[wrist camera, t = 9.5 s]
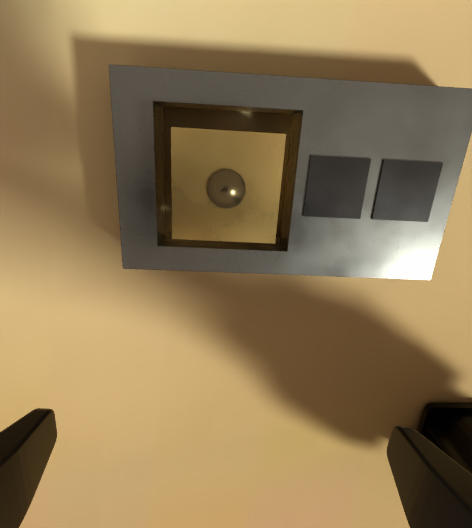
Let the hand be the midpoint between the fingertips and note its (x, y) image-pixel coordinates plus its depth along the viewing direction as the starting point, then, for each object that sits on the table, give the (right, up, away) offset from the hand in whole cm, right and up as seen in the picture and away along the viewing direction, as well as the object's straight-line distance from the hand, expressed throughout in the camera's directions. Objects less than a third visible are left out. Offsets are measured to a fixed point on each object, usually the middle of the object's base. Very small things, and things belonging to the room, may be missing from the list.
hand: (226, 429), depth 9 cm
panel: (+3, +9, +9) cm, 13 cm away
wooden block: (0, +9, +9) cm, 13 cm away
